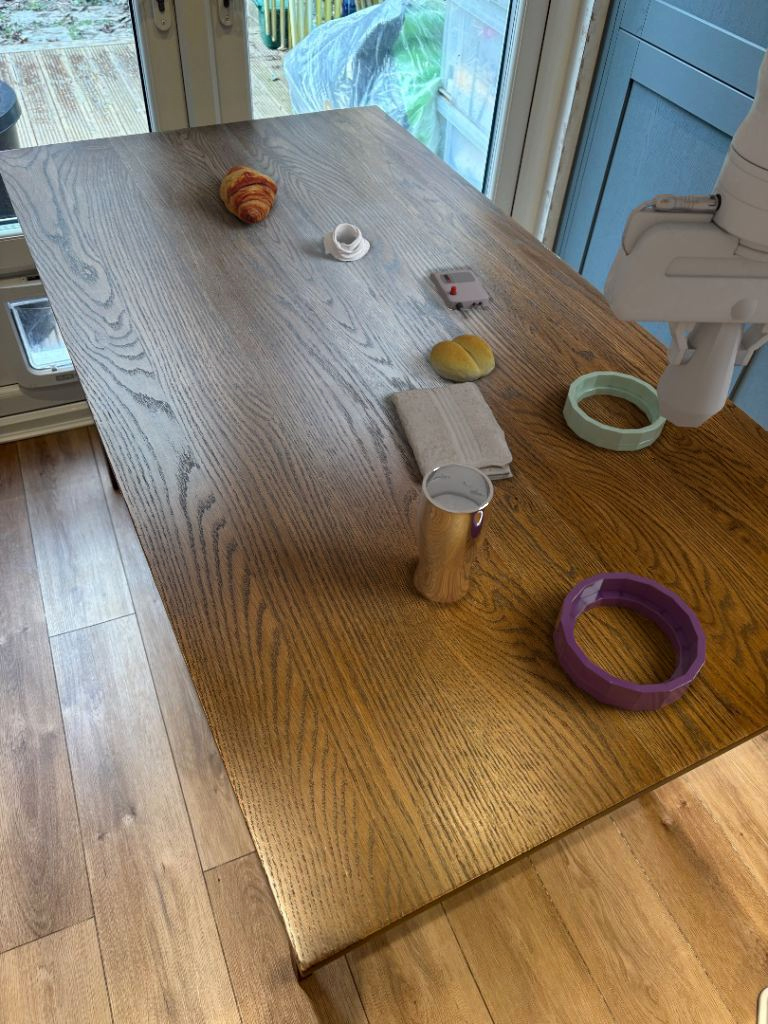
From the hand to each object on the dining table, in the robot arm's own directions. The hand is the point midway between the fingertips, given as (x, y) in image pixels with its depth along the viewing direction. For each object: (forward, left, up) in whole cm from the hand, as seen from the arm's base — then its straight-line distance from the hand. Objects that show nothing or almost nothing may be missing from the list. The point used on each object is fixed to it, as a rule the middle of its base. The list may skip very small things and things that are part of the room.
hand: (705, 361), depth 62 cm
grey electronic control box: (+9, -56, -28) cm, 63 cm away
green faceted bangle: (-6, -24, -27) cm, 37 cm away
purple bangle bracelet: (+3, +11, -27) cm, 30 cm away
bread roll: (+12, -37, -28) cm, 48 cm away
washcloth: (+16, -21, -28) cm, 38 cm away
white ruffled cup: (+27, -69, -28) cm, 79 cm away
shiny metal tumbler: (+20, +2, -28) cm, 34 cm away
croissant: (+44, -86, -28) cm, 100 cm away
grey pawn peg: (0, 0, -6) cm, 6 cm away
